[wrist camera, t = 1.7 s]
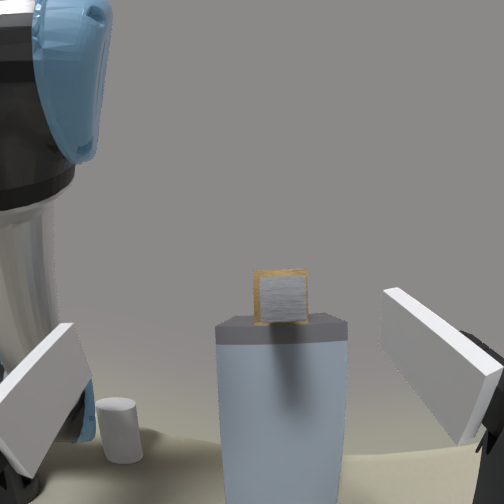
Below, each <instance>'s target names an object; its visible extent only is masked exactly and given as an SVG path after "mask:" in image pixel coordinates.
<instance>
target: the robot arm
mask: <svg viewBox="0 0 504 504" xmlns="http://www.w3.org/2000/svg"><path fill="white" fill-rule="evenodd" d="M112 20H113V13H112V8H111V5H110V3H109V1H108V0H0V504H26V503H28V502H30V501H31V500H32V499H34V498H35V497H36V495H37V494H38V492H39V489H40V483H39V480H38V477H37V474H36V472H37V470H38V468H39V466H40V464H41V462H42V461H43V459H44V457H45V455H46V453H47V451H48V450H49V448H50V446H51V444H52V442H71V443H78V442H88V441H91V440H92V439H93V438H94V437H95V433H96V420H95V403H94V393H93V385H92V380H91V377H92V373H91V370H90V367H89V365H88V362H87V360H86V357H85V354H84V351H83V349H82V346H81V343H80V340H79V337H78V334H77V331H76V328H75V325H74V323H60V317H59V309H58V300H57V290H56V278H55V262H54V230H53V228H54V227H53V226H54V224H53V223H54V201H55V200H56V199H57V198H58V197H59V196H61V195H62V194H63V193H64V192H65V191H66V190H67V189H68V188H69V187H70V186H71V184H72V182H73V179H74V173H75V164H82V163H83V162H86V161H90V160H91V159H93V157H94V155H95V153H96V148H97V142H98V134H99V122H100V112H101V107H102V99H103V91H104V83H105V75H106V67H107V60H108V53H109V45H110V38H111V30H112ZM378 347H379V348H380V349H381V351H382V352H383V353H384V354H385V356H386V357H387V358H388V359H389V360H390V362H391V363H392V364H393V365H394V366H395V368H396V369H397V370H398V371H399V373H400V374H401V375H402V376H403V378H404V379H405V380H406V381H407V382H408V384H409V385H410V386H411V387H412V389H413V390H414V391H415V392H416V394H417V395H418V396H419V397H420V399H421V400H422V401H423V403H424V404H425V405H426V406H427V408H428V409H429V410H430V411H431V413H432V414H433V415H434V416H435V418H436V419H437V420H438V422H439V423H440V424H441V425H442V427H443V428H444V429H445V431H446V432H447V433H448V435H449V436H450V437H451V438H452V440H453V441H454V443H455V444H456V445H457V446H458V445H460V444H462V443H464V442H466V441H468V440H469V439H471V438H473V437H475V436H476V433H477V432H478V429H479V427H480V425H481V423H482V424H483V425H484V426H485V427H486V428H487V430H486V432H485V433H484V435H483V437H482V439H481V441H480V443H479V445H478V447H477V449H476V453H478V452H479V450H480V448H481V447H482V454H481V461H480V468H479V474H478V479H477V485H476V490H475V494H474V499H473V503H472V504H504V358H503V357H501V356H500V355H499V354H497V353H496V352H495V351H493V350H492V349H489V347H488V346H487V345H486V344H484V343H482V342H481V341H480V340H479V339H477V338H476V337H474V336H473V335H471V334H468V333H466V332H464V331H457V330H456V329H455V328H453V327H452V326H450V325H449V324H448V323H447V322H445V321H444V320H443V319H441V318H440V317H439V316H437V315H436V314H434V313H433V312H432V311H430V310H429V309H428V308H426V307H425V306H423V305H422V304H420V303H419V302H418V301H416V300H415V299H414V298H412V297H411V296H409V295H408V294H407V293H405V292H404V291H402V290H401V289H399V288H398V287H397V288H391V289H386V290H382V306H381V322H380V334H379V345H378ZM1 363H2V364H1Z"/></svg>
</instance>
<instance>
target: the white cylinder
mask: <svg viewBox="0 0 504 504" xmlns="http://www.w3.org/2000/svg"><path fill="white" fill-rule="evenodd" d="M96 411H97V417H98V423H99V428H100V434H101V439H102V444H103V448H104V453H105V457H106V458H107V459H108V460H109V461H111V462H113V463H117V464H131V463H135V462H138V461H139V460H141V459H142V458H143V450H142V445H141V439H140V432H139V425H138V418H137V411H136V403H135V402H134V401H133V400H131V399H127V398H120V397H113V398H104V399H101V400H99V401H97V402H96Z"/></svg>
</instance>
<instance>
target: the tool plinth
mask: <svg viewBox="0 0 504 504" xmlns="http://www.w3.org/2000/svg"><path fill="white" fill-rule="evenodd" d="M215 333H216V356H217V357H216V358H217V380H218V381H217V382H218V399H219V400H218V401H219V419H220V434H221V449H222V462H223V475H224V487H225V498H226V504H336V502H337V495H338V487H339V479H340V471H341V461H342V451H343V439H344V426H345V410H346V389H347V322H346V321H343V320H341V319H338V318H336V317H333V316H331V315H328V314H326V313H315V314H308V323H286V324H254V316H235V317H233V318H231V319H229V320H227V321H225V322H223V323H221V324H219V325H217V326H216V327H215Z"/></svg>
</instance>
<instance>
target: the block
mask: <svg viewBox="0 0 504 504" xmlns="http://www.w3.org/2000/svg"><path fill="white" fill-rule="evenodd" d="M307 289H308V288H307V269H286V270H257V271H253V290H254V324H286V323H308V290H307Z"/></svg>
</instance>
